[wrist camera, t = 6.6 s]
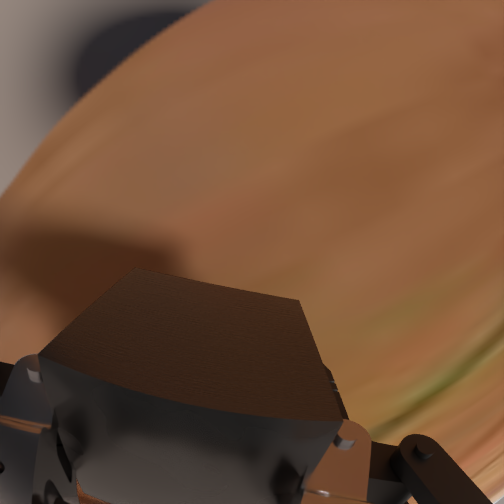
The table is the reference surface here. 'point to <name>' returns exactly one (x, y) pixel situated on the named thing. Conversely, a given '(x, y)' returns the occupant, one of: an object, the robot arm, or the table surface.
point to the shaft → (189, 394)
